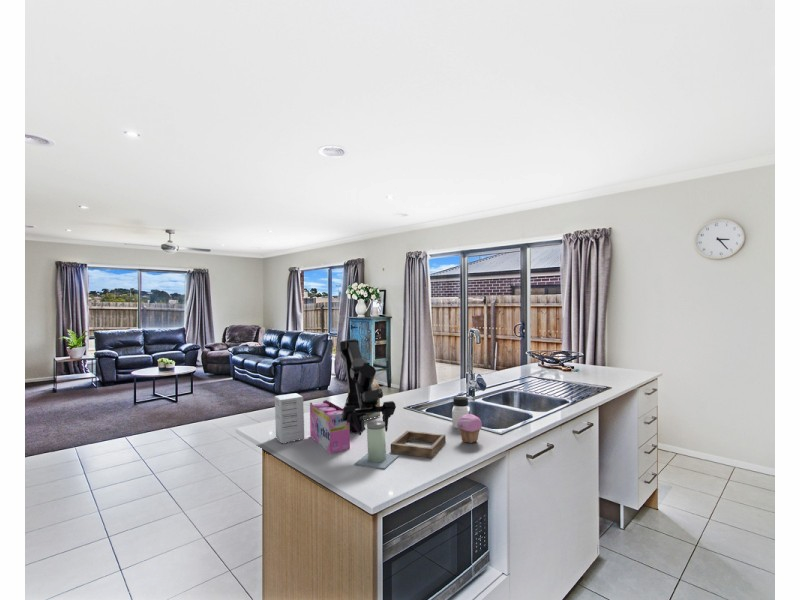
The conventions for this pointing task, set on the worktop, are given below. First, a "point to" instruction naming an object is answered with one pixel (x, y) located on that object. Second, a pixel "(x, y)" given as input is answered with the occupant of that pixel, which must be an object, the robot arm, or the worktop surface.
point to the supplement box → (289, 417)
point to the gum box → (329, 426)
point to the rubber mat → (381, 465)
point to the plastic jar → (376, 441)
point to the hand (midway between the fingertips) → (373, 432)
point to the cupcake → (469, 427)
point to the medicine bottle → (459, 409)
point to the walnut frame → (402, 448)
